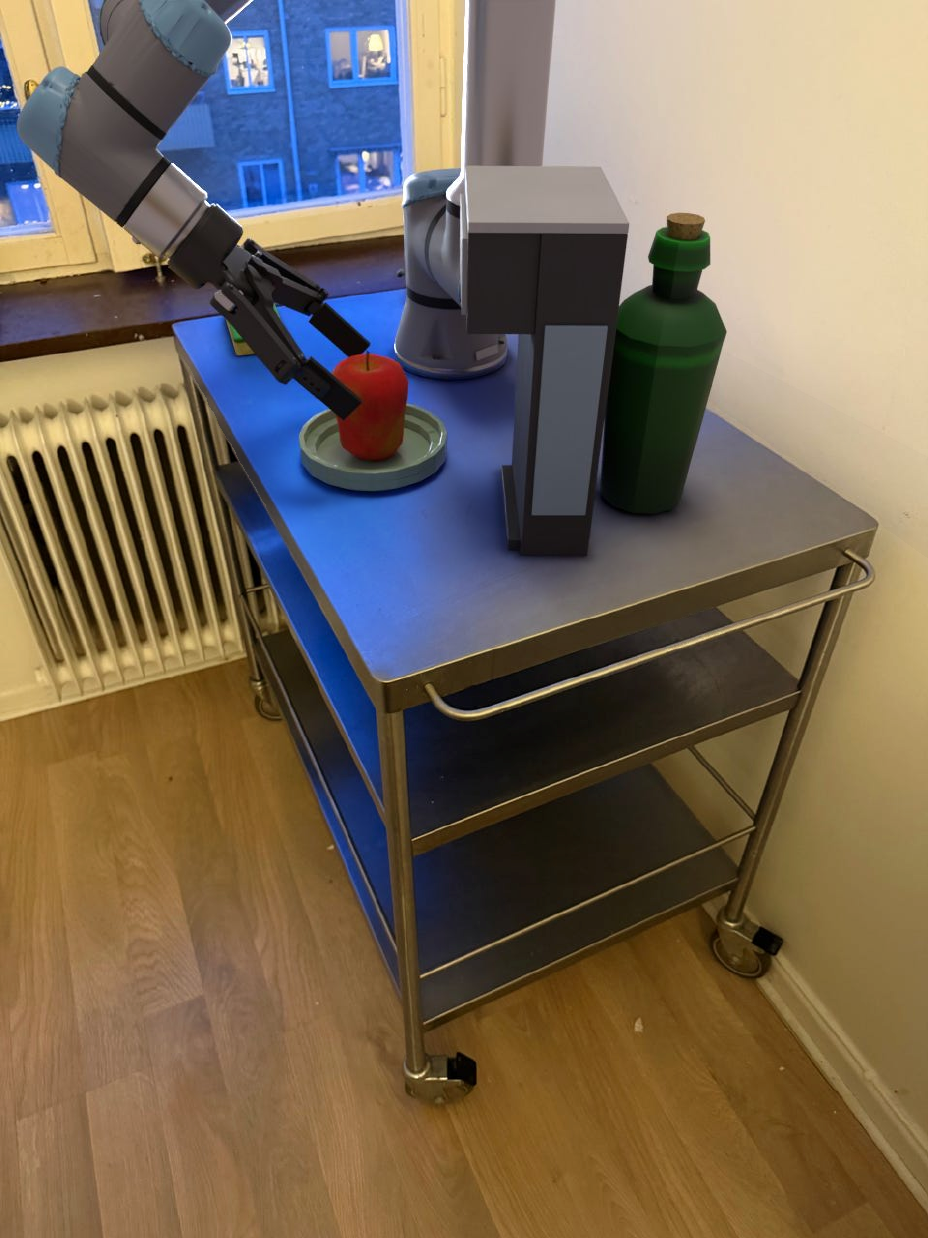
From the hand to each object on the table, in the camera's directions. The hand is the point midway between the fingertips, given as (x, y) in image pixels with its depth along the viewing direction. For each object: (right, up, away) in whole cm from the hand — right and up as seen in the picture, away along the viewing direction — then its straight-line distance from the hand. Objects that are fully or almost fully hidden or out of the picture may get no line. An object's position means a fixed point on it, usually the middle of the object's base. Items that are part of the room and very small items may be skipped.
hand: (358, 380), depth 93 cm
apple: (+1, -7, +6) cm, 9 cm away
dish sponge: (-18, +15, +32) cm, 40 cm away
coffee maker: (+17, -14, -2) cm, 22 cm away
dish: (+1, -7, +6) cm, 9 cm away
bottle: (+30, -12, +1) cm, 32 cm away
